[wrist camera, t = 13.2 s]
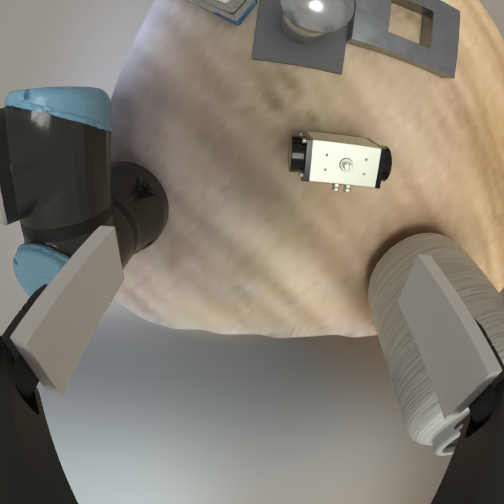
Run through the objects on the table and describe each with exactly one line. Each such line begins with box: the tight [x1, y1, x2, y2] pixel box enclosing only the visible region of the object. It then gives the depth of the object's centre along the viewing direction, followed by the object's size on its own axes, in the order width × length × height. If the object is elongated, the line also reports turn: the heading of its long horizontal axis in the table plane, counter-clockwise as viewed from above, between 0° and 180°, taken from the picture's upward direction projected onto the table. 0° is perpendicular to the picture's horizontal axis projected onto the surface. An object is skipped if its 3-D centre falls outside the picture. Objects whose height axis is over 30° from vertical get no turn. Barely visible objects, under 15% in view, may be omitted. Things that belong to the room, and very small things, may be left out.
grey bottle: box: [280, 0, 355, 44], centre depth 23 cm, size 7×7×13 cm
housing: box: [346, 0, 460, 78], centre depth 26 cm, size 16×12×4 cm
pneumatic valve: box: [288, 131, 392, 192], centre depth 34 cm, size 6×12×12 cm, turn 89°
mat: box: [252, 0, 349, 74], centre depth 29 cm, size 12×12×1 cm
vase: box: [368, 233, 504, 456], centre depth 34 cm, size 20×20×34 cm
